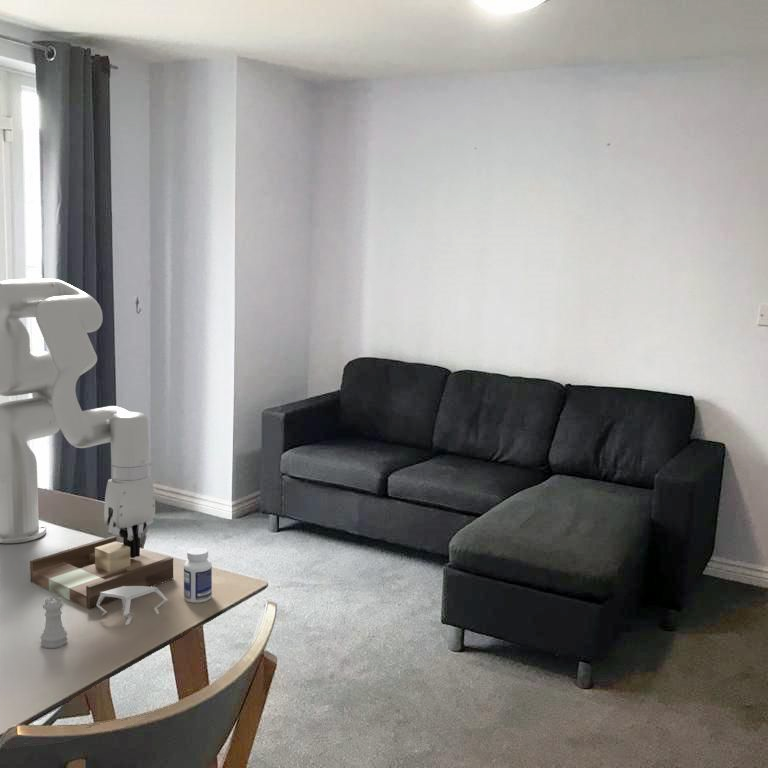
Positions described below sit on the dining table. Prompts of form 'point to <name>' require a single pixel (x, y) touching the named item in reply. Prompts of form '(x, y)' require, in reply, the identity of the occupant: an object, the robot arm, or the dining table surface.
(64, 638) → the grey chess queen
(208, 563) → the pill bottle
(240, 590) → the dining table surface
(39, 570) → the board
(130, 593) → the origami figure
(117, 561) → the maple block
